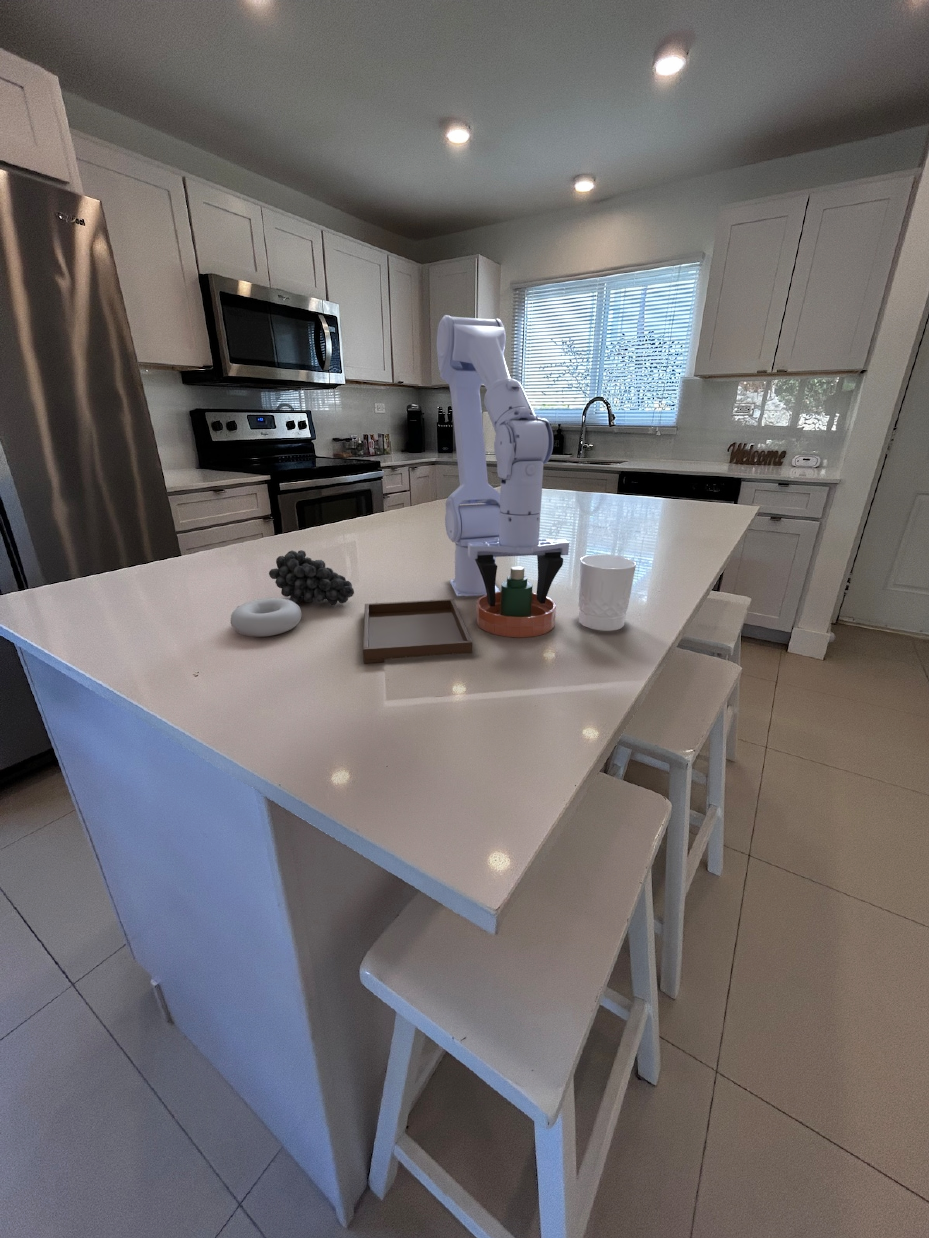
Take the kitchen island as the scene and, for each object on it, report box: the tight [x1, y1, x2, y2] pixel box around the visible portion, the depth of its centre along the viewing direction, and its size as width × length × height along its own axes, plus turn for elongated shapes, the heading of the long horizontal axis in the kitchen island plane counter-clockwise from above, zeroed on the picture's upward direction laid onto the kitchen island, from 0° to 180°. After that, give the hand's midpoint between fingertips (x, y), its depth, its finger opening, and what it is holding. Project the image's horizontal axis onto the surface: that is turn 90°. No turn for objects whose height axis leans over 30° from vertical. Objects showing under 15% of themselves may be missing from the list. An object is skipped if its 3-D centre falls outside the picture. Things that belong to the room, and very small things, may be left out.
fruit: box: [268, 550, 355, 606], centre depth 85 cm, size 9×8×15 cm
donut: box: [230, 597, 302, 638], centre depth 76 cm, size 10×4×10 cm
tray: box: [362, 598, 474, 664], centre depth 74 cm, size 17×14×2 cm
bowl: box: [475, 590, 557, 638], centre depth 77 cm, size 12×12×4 cm
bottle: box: [500, 565, 533, 617], centre depth 76 cm, size 5×5×8 cm
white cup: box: [578, 554, 637, 632], centre depth 76 cm, size 8×8×10 cm
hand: (516, 602), depth 76 cm, fingers open, 7 cm apart
